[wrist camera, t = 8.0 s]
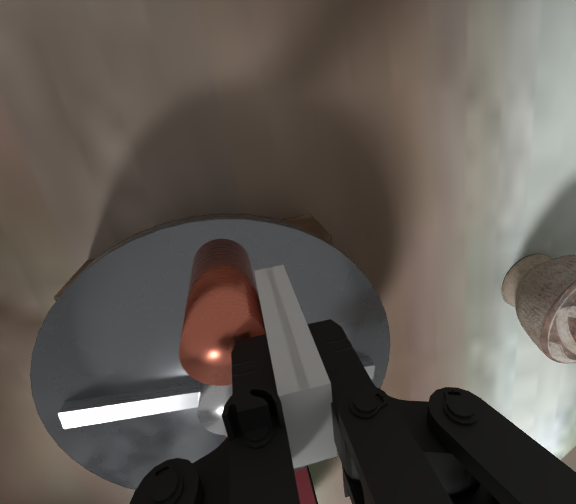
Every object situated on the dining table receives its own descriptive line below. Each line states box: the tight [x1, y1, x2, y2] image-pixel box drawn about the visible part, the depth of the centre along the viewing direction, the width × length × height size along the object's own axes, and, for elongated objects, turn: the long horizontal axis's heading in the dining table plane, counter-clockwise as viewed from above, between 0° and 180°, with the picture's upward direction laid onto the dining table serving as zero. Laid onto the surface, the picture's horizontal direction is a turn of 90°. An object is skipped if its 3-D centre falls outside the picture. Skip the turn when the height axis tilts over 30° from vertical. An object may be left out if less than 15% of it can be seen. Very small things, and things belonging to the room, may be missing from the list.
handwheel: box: [30, 214, 390, 490], centre depth 18 cm, size 22×22×8 cm
